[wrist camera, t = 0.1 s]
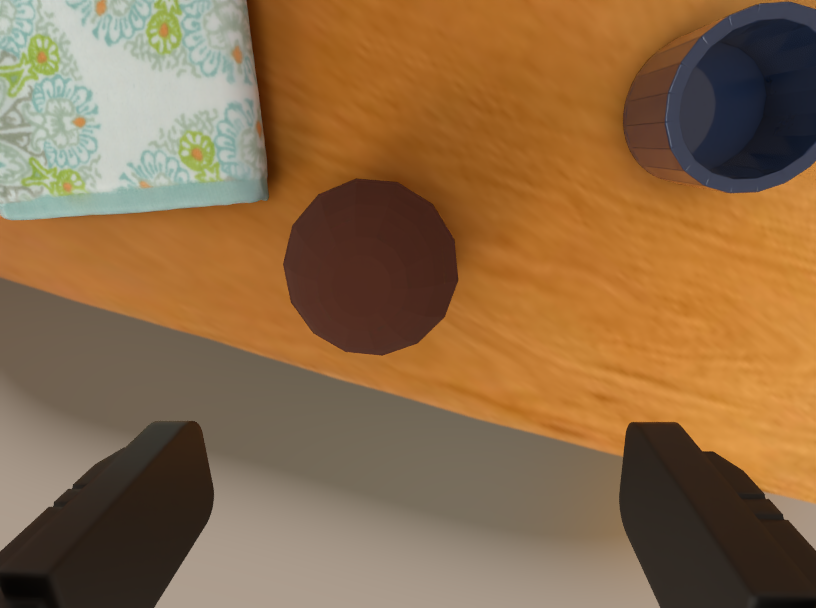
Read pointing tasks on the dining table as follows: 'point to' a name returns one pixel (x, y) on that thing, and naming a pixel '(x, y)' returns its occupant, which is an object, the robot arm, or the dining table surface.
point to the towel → (127, 107)
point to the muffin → (371, 266)
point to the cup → (729, 102)
